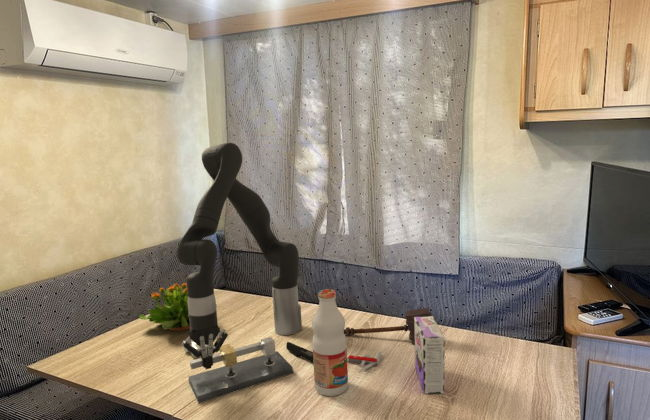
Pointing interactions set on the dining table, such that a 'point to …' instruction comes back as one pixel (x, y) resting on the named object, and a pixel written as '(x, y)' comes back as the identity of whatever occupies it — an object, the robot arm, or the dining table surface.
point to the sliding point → (228, 356)
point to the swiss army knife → (364, 360)
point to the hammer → (409, 321)
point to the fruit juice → (329, 346)
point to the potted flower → (171, 308)
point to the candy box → (429, 354)
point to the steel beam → (243, 352)
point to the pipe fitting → (194, 347)
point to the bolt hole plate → (238, 376)
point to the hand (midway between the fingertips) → (207, 367)
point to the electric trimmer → (300, 351)
